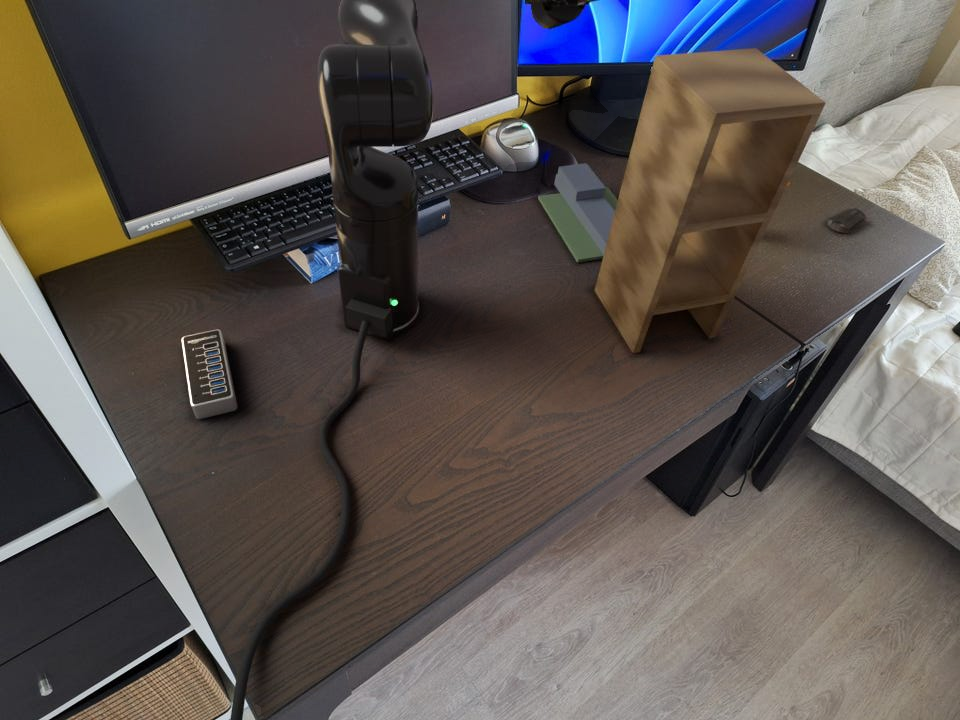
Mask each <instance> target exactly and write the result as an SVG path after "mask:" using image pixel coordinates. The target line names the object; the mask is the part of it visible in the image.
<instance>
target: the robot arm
mask: <svg viewBox="0 0 960 720" xmlns="http://www.w3.org/2000/svg"><path fill="white" fill-rule="evenodd" d="M597 1H599V0H525V4H531V10H532V15H533V18H534V19H535V21H536V22H537V23H538V24H539V25H540V26H542V27H544V28H548V30H553V29H557V28H559V27H561V26H564V25H567V24H568V23H569V24H570V23H571V22H573V21H575V20H577V19H578V18H579V17H580V16H581V14H582V13H583V11H584V10H585V8H586V6H588V5H590V4H591V3H592V2H597ZM337 15H338V16H337V22H338V23H337V24H338V30H339V34H340V37H341V39H342V42H343V43H341V44H340V43H336V44H329V45H326V46H325V47H324V48H323V49H322V50H321V52H320V54H319V57H318V60H317V66H316V89H317V98H318V104H319V112H320V116H321V117H320V118H321V123H322V128H323V134H324V138H325V143H326V151H327V156H328V163H329V164H328V165H329V173H330V182H331V192H332V201H333V211H334V218H335V231H336V239H337V247H338V256H339V264H340V266H339V267H337V274H338V281H339V288H340V289H339V292H340V298H341V299H340V300H341V307H342V315H343V325H344V327H346V328H348V329H351V330H355V331H357V332H358V335H357V338H356V342H355V347H354V350H353V355H352V363H351V369H352V370H351V373H352V374H351V383H350V386H349V388H348V391H347V392H346V394H345V396H344V397H343V398H342V399H341V400H340V401H339V402H338V403H337V404H336V405H335V406H334V407H333V408H332V409H331V410H330V411H329V412H328V413H327V415H326V416H325V417H324V419H323V420H322V422H321V424H320V427H319V430H318V437H317V438H318V446H319V450H320V452H321V454H322V457H323V458H324V459H323V460H324V461H325V462H326V464H327V465H328V467H329V469H330V470H331V471H332V474H333V475H334V477H335V479H336V481H337V483H338V486H339V492H340V519H339V526H338V530H337V532H336V533H337V534H336V537H335V539H334V541H333V544H332V546H331V548H330V550H329V552H328V554H327V556H326V558H325V560H324V561H323V562H322V564H321V565H320V566H319V568H318V569H316V571H314V572H313V574H312V575H310V576H309V577H308V578H307V579H305V580H304V581H303V582H301V583H300V584H298V585H297V586H296V587H294V588H293V589H292V590H290V591H289V592H287V593H285V595H283V596H282V597H281V598H279V599H278V600H277V601H276V602H275V603H273V605H272V606H271V607H270V608H268V610H266V612H265V613H264V615H263V616H262V617H261V618H260V620H259V622H257V625H256V626H255V628H254V629H253V631H252V633H251V635H250V637H249V639H248V642H247V644H246V646H245V647H244V648H245V649H244V652H243V653H242V657H241V660H240V662H239V667H238V669H237V675H236V679H235V684H234V690H233V696H232V703H231V704H232V705H231V712H230V718H229V719H230V720H243V718H244V711H245V702H246V695H247V688H248V682H249V677H250V671H251V668H252V664H253V661H254V658H255V654H256V652H257V650H258V647H259V645H260V643H261V641H262V638H263V637H264V636H265V633H266V632H267V630H268V628H269V627H270V625H271V624H272V622H273V621H274V620H275V618H276V617H277V616H278V615H279V614H280V613H281V612H282V611H283V610H284V609H285V608H287V607H288V606H289V605H290V604H293V602H294V601H296V600H297V599H298V598H300V597H301V596H303V595H305V593H308V591H310V590H311V589H312V588H313V587H315V586H316V585H317V584H319V582H321V581H322V580H323V579H324V578H325V576H327V574H328V573H329V572H330V571H331V569H332V568H333V566H334V564H335V563H336V562H337V559H338V558H339V556H340V554H341V552H342V549H343V547H344V545H345V542H346V539H347V535H348V532H349V528H350V523H351V493H350V492H351V491H350V487H349V483H348V480H347V478H346V475H345V474H344V472H343V470H342V468H341V466H340V464H339V463H338V462H337V460H336V459H335V457H334V456H333V453H332V452H331V449H330V447H329V444H328V443H329V442H328V432H329V429H330V426H331V425H332V423H333V421H334V420H335V419H336V418H337V417H338V416H339V415H340V414H341V413H342V412H343V411H344V410H345V409H346V408H347V407H348V405H349V404H350V403H351V402H352V400H353V399H354V398H355V397H356V395H357V392H358V389H359V387H360V382H361V359H362V354H363V350H364V346H365V342H366V339H367V338H366V337H367V335H370V336H373V337H376V338H379V339H383V340H386V341H389V340H391V338H392V337H393V336H394V335H397V334H399V333H401V332H404V331H406V330H408V328H410V327H412V326H413V324H414V323H415V322H416V321H417V319H418V316H419V313H420V312H419V311H420V303H419V302H420V301H419V183H418V177H417V174H416V172H415V171H414V169H413V167H412V166H411V165H410V164H408V162H406V160H403V159H401V158H400V157H398V156H395V155H393V154H391V153H388V152H384V151H382V150H380V149H377V148H391V147H393V148H394V147H395V148H396V147H410V146H413V145H417V144H419V143H421V142H422V141H423V140H424V139H426V137H427V135H428V133H429V131H430V128H431V125H432V121H433V116H434V92H433V91H434V90H433V84H432V78H431V73H430V69H429V66H428V62H427V58H426V56H425V53H424V50H423V47H422V45H421V41H420V33H419V32H420V31H419V29H420V28H419V18H418V16H417V10H416V3H415V0H341V2H340V6H339V5H338V14H337ZM552 28H553V29H552Z"/></svg>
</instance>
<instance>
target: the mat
mask: <svg viewBox="0 0 960 720" xmlns="http://www.w3.org/2000/svg"><path fill="white" fill-rule="evenodd" d="M605 187H606V189H605V193H604V196H603V197H604V198H605V199H606V201H607V202H608V203H609V204H610V206H611V207H612V208H613V210H614V211H615V210H616V206H617V202H618V198H616V196H615V195H614V193H613V192H612V191H611V189H610V188H609V187H608V186H605ZM537 199H538V201H539V202H540V204H541V206H542V208H543V210H544V211H545V212H546V214H547V215H548V217H549V219H550V220H551V222H552V223H553V225H554V227H555V229H556V230H557V232H558V234H559V235H560V237H561V238H562V240H563V242H564V244H565V245H566V246H567V248H568V250H569V251H570V253H571V255H572V256H573V258H574V260H575V262H576V263H577V264H578V263H585V262H591V261H596V260H597V261H599V260H603V256H604V255H603V253H602V252H601V251H600V249H599V248H598V246H597V245H596V243H595V242H594V241H593V239H592V238H591V236H590V235H589V233H588V232H587V231H586V229H585V228H584V226H583V225H582V223H581V222H580V221H579V219H578V218H577V216H576V215H575V213H574V212H573V211H572V209H571V208H570V206H569V205H568V203H567V202H566V201H565V199H564V198H563V196H562V195H561V194H560V192H558V193H549V194H542V195H538V198H537Z"/></svg>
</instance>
